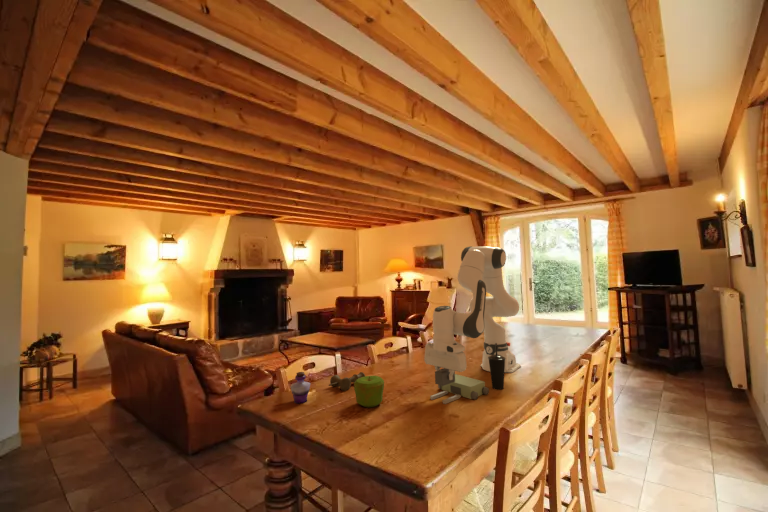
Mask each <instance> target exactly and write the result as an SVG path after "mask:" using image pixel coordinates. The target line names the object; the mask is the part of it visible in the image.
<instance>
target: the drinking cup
mask: <svg viewBox="0 0 768 512" xmlns="http://www.w3.org/2000/svg"><path fill="white" fill-rule="evenodd" d="M495 347H496V354H494V355H491V356H488V359H489V365H490V371H489V372H490V380H491V386H492V389H493V390H498V391H499V390H503V389H505V388H504V385H505V372H504V370H505V359H506V358H505V357H503V356H501V355H498V354H497V343H495Z"/></svg>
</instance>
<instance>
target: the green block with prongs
mask: <svg viewBox="0 0 768 512" xmlns="http://www.w3.org/2000/svg"><path fill="white" fill-rule="evenodd" d="M437 387H438V388H437V389H440V390H441V391H440V392H438V393H435V394H433V395H429V398H430V400H432V401H433V400H436V399H438V398H441V397H443V396H446V395H448V394H449V393H450V394H454V395H452V396H450V397H448V398H444V399H443V400H442V404H444V405H447V404H448V403H451V402H453V401H457V400H458V399H461V397H463V398H466V399H470V400H478V398H479V397H480V396H482V395H485V396H488V395H489V393H490V389H489V387H487V386H486V382H485V381H484V380H479V379H476V378H473V377H468V376H464V375H462V374H456V373H455V382H453V383H450V384H447V385H444V386H441V385H438V384H437Z"/></svg>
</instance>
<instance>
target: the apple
mask: <svg viewBox="0 0 768 512" xmlns="http://www.w3.org/2000/svg"><path fill="white" fill-rule="evenodd" d="M384 388H385V381H384V379H383V378H382V377H381V376H379V375H365V377H361V378H358V379H357V380H356V381H355V382H353V389H354V394H355V399H356V403H357V404H358V405H360V406H361V407H365V408H375V407H378V405H380V404H381V403H382V401H383V400H384V399H383V398H384V396H383V394H384Z"/></svg>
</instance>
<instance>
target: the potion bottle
mask: <svg viewBox="0 0 768 512" xmlns="http://www.w3.org/2000/svg"><path fill="white" fill-rule="evenodd" d="M306 377H307V376H306V374H305V371H298V372H296V375H295V379H294V380H295V381H296V382H294V383H291V385H290V390H291V391H290V392H291V394H292V397H293V404H297V405H300V404H305V403H307V402H308V395H309V392H310V388H311V382H308V381H305V380H306V379H307V378H306Z"/></svg>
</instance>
